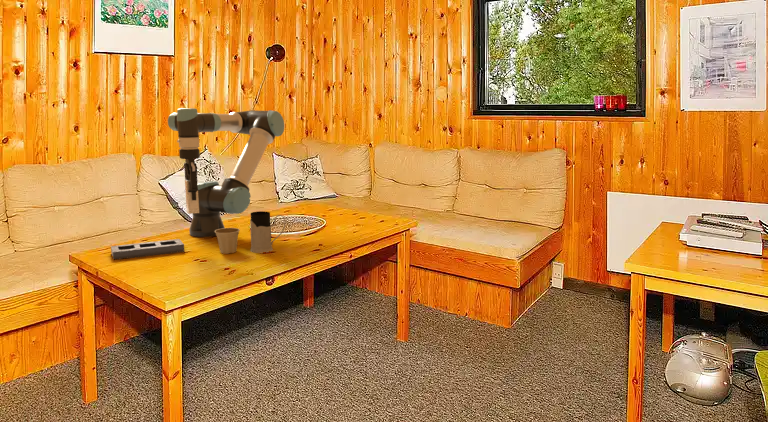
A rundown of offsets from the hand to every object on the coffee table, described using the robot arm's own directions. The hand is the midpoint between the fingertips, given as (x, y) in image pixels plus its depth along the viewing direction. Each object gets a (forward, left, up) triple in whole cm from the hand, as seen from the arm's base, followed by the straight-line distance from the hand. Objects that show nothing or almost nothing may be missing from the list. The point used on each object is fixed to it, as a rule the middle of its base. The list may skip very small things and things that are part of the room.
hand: (192, 207), depth 218 cm
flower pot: (-10, +13, -17) cm, 23 cm away
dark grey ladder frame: (+18, 0, -17) cm, 24 cm away
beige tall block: (0, 0, -2) cm, 2 cm away
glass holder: (-25, +17, -17) cm, 34 cm away
